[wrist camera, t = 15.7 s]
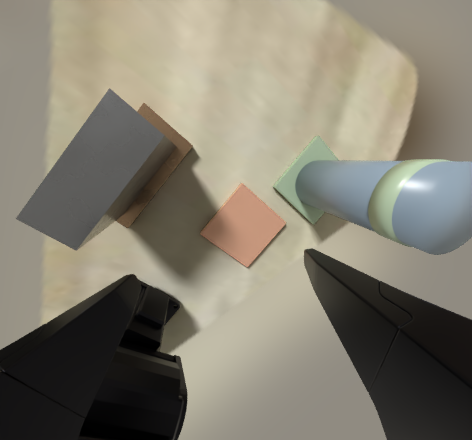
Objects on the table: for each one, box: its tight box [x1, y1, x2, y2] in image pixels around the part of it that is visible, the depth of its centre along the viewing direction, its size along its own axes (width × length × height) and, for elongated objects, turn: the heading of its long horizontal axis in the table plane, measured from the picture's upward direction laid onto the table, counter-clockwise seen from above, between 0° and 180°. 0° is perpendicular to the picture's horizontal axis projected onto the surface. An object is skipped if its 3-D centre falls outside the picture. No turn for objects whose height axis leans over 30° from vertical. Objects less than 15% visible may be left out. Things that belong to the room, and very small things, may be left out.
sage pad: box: [273, 136, 338, 225], centre depth 22 cm, size 7×7×1 cm
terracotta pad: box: [200, 183, 286, 267], centre depth 22 cm, size 7×7×1 cm
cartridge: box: [295, 160, 472, 255], centre depth 16 cm, size 5×5×12 cm
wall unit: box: [16, 88, 193, 250], centre depth 14 cm, size 10×5×9 cm, turn 140°
